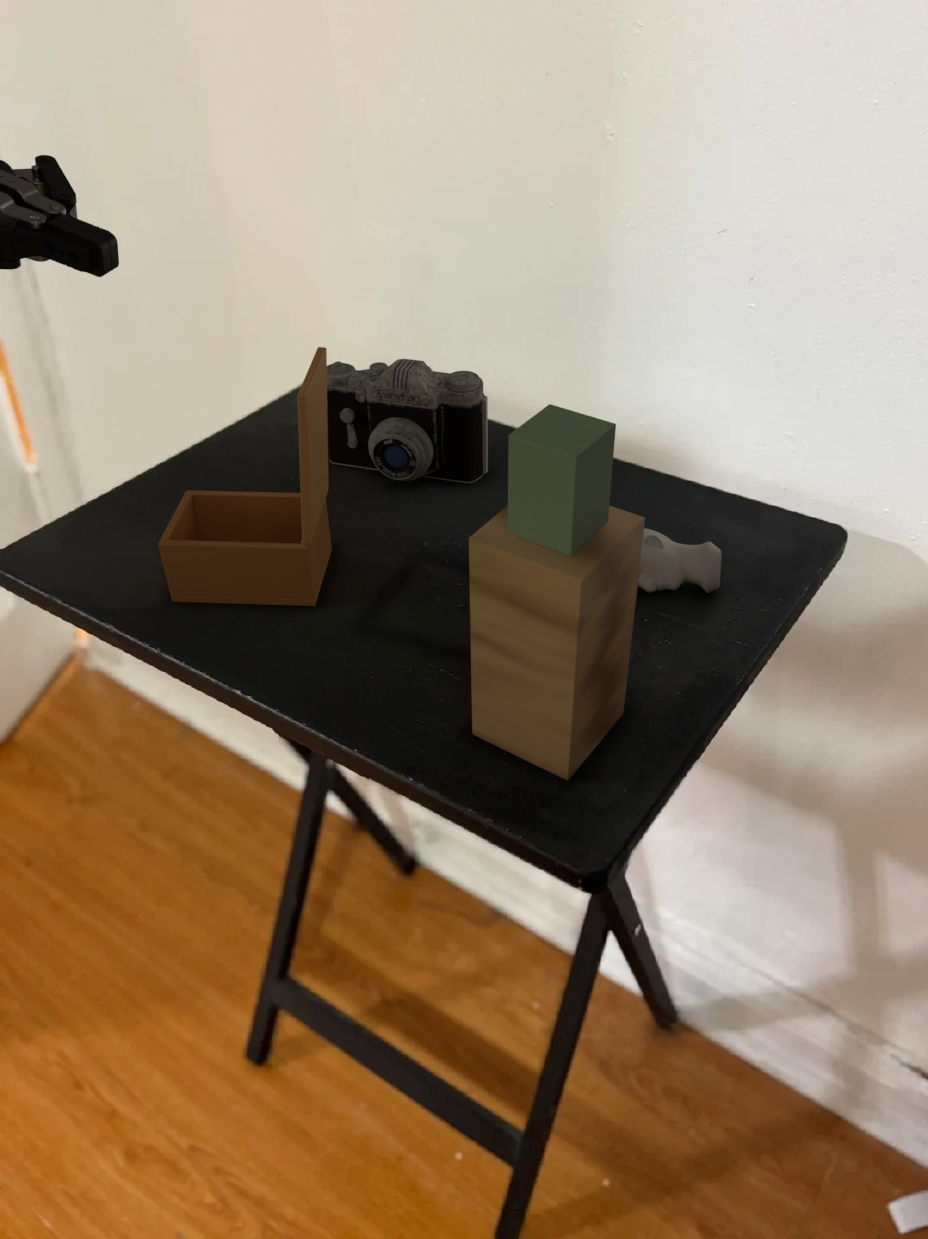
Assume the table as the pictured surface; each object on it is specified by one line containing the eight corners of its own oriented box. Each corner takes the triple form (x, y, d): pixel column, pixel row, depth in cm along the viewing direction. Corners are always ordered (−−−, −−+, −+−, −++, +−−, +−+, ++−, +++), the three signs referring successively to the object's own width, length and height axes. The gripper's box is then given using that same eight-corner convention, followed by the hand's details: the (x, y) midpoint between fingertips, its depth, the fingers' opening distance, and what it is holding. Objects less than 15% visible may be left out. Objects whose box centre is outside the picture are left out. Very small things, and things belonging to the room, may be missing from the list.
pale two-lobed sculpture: (604, 595, 77) (630, 545, 80) (707, 625, 74) (731, 572, 76) (600, 559, 74) (627, 508, 76) (707, 589, 71) (732, 535, 73)
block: (571, 557, 54) (576, 456, 50) (506, 533, 56) (508, 434, 52) (608, 521, 56) (616, 423, 52) (545, 500, 58) (549, 403, 54)
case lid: (297, 395, 64) (306, 396, 64) (317, 346, 70) (326, 347, 70) (302, 543, 72) (310, 544, 72) (320, 488, 77) (328, 489, 77)
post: (568, 781, 62) (581, 581, 52) (471, 734, 65) (468, 537, 55) (623, 713, 66) (645, 517, 56) (531, 672, 69) (537, 480, 60)
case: (172, 602, 76) (157, 544, 73) (198, 546, 81) (186, 490, 78) (315, 606, 75) (307, 548, 72) (331, 549, 81) (325, 493, 77)
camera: (307, 480, 89) (292, 373, 83) (336, 442, 94) (325, 339, 88) (470, 504, 85) (469, 394, 79) (492, 464, 90) (492, 357, 84)
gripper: (-246, 129, 55) (24, 236, 52) (-64, 69, 64) (175, 157, 61) (-206, 260, 60) (42, 363, 58) (-42, 187, 70) (178, 273, 67)
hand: (110, 257), depth 60 cm, fingers closed
